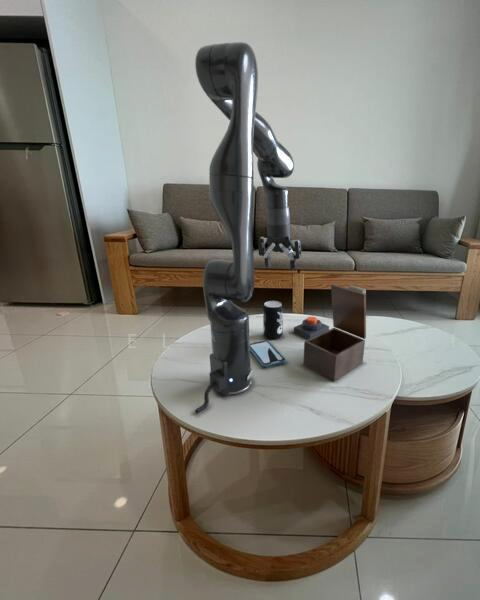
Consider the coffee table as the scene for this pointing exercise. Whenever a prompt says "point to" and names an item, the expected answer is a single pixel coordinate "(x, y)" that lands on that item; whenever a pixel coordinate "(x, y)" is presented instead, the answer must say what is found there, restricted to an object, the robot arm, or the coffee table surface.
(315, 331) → the button base
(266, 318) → the beverage can
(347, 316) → the lid
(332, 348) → the keepsake box
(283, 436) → the coffee table surface
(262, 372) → the coffee table surface
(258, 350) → the smartphone
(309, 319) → the button
